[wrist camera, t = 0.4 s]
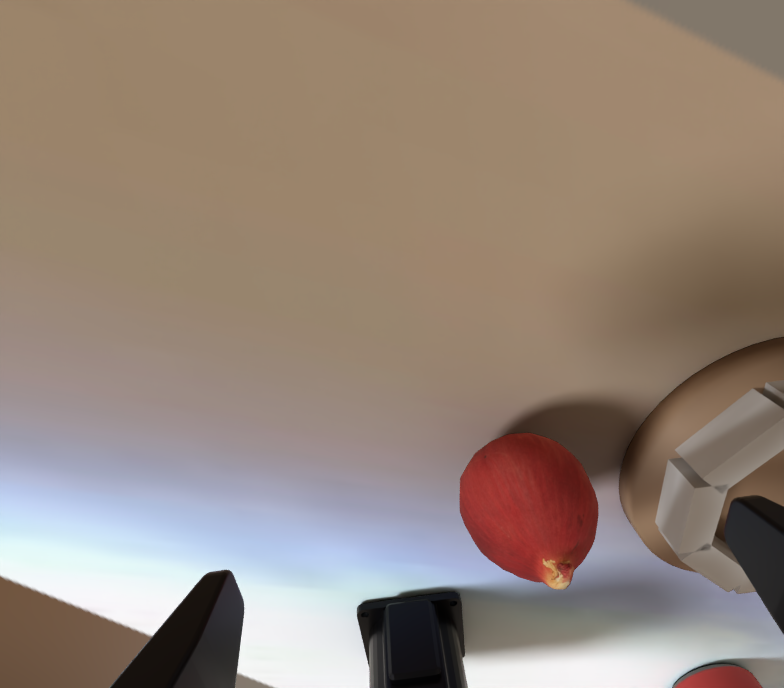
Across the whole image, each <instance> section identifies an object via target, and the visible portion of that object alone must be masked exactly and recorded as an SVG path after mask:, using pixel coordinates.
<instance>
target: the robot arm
mask: <svg viewBox="0 0 784 688" xmlns="http://www.w3.org/2000/svg"><path fill="white" fill-rule="evenodd" d="M724 537H725V540H726V543H727V545H728V547H729V548H730V550H731V551H732V553H733V555H734V556H735V558H736V560H737V561H738V563H739V564H740V566H741V568H742V569H743V571H744V572H745V574H746V576H747V577H748V579H749V580H750V582H751V584H752V585H753V587H754V588H755V590H756V592H757V593H758V595H759V596H760V598H761V600H762V601H763V603H764V604H765V606H766V608H767V609H768V611H769V612H770V614H771V616H772V617H773V619H774V620H775V622H776V623H777V625H778V626H779V628H780V629H781V631H782V632H783V634H784V506H782V505H780V504H778V503H776V502H773V501H771V500H769V499H767V498H765V497H762V496H759V495H750V496H743V497H737V498H734V499H733V500H732V501H731V503H730V506H729V510H728V514H727V518H726V522H725V526H724ZM243 618H244V601H243V598H242V595H241V593H240V590H239V588H238V585H237V583H236V580H235V578H234V575H233V573H232V572H231V571H230V570H221V571H214V572H209V573H207V574H206V575H204V576H203V577H202V578H201V580H200V581H199V582H198V583H197V584H196V585H195V587H194V588H193V589H192V590H191V591H190V593H189V594H188V595H187V596H186V597H185V599H184V600H183V601H182V602H181V603H180V604H179V606H178V607H177V608H176V609H175V610H174V612H173V613H172V614H171V615H170V616H169V618H168V619H167V620H166V621H165V622H164V623H163V625H162V626H161V627H160V628H159V629H158V631H157V632H156V633H155V634H154V635H153V636H152V638H151V639H150V640H149V641H148V642H147V644H146V645H145V646H144V647H143V648H142V650H141V651H140V652H139V653H138V654H137V656H136V657H135V658H134V659H133V660H132V661H131V663H130V664H129V665H128V666H127V668H126V669H125V670H124V671H123V672H122V673H121V675H120V676H119V677H118V678H117V679H116V680H115V682H114V683H113V684H112V685H111V686H110V687H109V688H235V683H236V675H237V667H238V659H239V651H240V642H241V634H242V626H243ZM357 618H358V622H359V626H360V631H361V635H362V639H363V643H364V648H365V652H366V656H367V660H368V664H369V671H370V688H468V686H467V681H466V675H465V670H464V665H463V659H462V658H463V657H464V656H465V648H464V634H463V619H462V604H461V598H460V595H459V594H458V593H456V592H449V593H442V594H434V595H426V596H418V597H411V598H403V599H395V600H387V601H380V602H372V603H364V604H361V605H359V606H358V607H357Z"/></svg>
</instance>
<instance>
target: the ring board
mask: <svg viewBox="0 0 784 688" xmlns="http://www.w3.org/2000/svg"><path fill="white" fill-rule="evenodd" d="M619 494H620V501H621V504H622V507H623V511H624V513H625V515H626V516H627V518H628V520H629V522H630V523H631V525H632V526H633V528H634V529H635V531H636V532H637V534H638V535H639V537H640V538H641V540H642V541H643V542H644V544H645V545H646V546H647V547H648V548H649V550H650V551H651V552H652V553H654V554H655V555H656V556H657V557H659V558H660V559H661V560H663V561H665V562H667V563H669V564H671V565H673V566H676V567H678V568H681V569H684V570H688V571H693V572H697V573H700V574H701V575H703V576H704V577H706V578H707V579H709V580H710V581H712V582H713V583H715V584H716V585H718V586H719V587H721V588H722V589H724V590H725V591H727V592H730V591H732V590H733V589H734V590H735V591H736V593H737V594H741V593H749V592H756V590H755V588H754V587H753V585H752V584H751V582H750V580H749V579H748V577H747V576H746V574H745V572H744V571H743V569H742V568H741V566H740V564H739V563H738V561H737V560H736V558H735V556H734V555H733V553H732V551H731V550H730V548H729V547H728V545H727V543H726V540H725V537H724V526H725V522H726V518H727V514H728V510H729V506H730V503H731V501H732V500H733V499H734V498H737V497H743V496H750V495H759V496H762V497H765V498H767V499H769V500H771V501H773V502H776V503H778V504H780V505H782V506H784V337H782V338H776V339H772V340H768V341H765V342H761V343H758V344H754V345H751V346H749V347H746V348H744V349H741V350H739V351H736V352H734V353H731V354H729V355H727V356H725V357H723V358H722V359H720V360H718V361H716V362H714V363H712V364H710V365H708V366H707V367H705V368H704V369H702V370H701V371H699V372H697V373H696V374H694V375H693V376H691V377H690V378H689V379H687V380H686V381H685V382H683V383H682V384H681V385H679V386H678V387H677V388H676V389H674V390H673V391H672V392H671V393H670V394H669V395H668V396H667V397H666V398H665V399H664V400H663V401H661V402H660V404H659V405H658V406H657V407H656V408H655V409H654V410H653V411H652V413H651V414H650V415H649V416H648V417H647V418H646V420H645V421H644V423H643V424H642V425H641V427H640V428H639V430H638V431H637V432H636V434H635V436H634V438H633V440H632V442H631V443H630V445H629V447H628V450H627V452H626V455H625V457H624V460H623V463H622V467H621V472H620V478H619Z"/></svg>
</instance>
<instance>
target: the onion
mask: <svg viewBox="0 0 784 688" xmlns="http://www.w3.org/2000/svg"><path fill="white" fill-rule="evenodd" d="M460 513H461V516H462V519H463V521H464V524H465V526H466V528H467V530H468V531H469V533H470V535H471V537H472V539H473V540H474V542H475V544H476V545H477V547H478V548H479V550H480V551H481V552H482V553H483V554H484V555H485V556H486V557H487V558H488V559H489V560H491V561H492V562H494V563H495V564H496V565H498V566H499V567H501V568H502V569H503V570H505V571H508V572H510V573H513V574H514V575H516V576H518V577H520V578H524V579H527V580H530V581H534V582H543V583H545V584H546V585H548V586H549V587H551V588H553V589H566V588H567V587H568V586H569V585H570V582H571V580H572V576H573V572H574V570H575V569H576V568H577V567H578V566H579V565H580V564H581V563H582V562H583V560H584V559H585V557H586V556H587V554H588V552H589V551H590V549H591V547H592V545H593V542H594V540H595V534H596V528H597V521H598V502H597V498H596V494H595V491H594V489H593V487H592V485H591V483H590V480H589V478H588V476H587V474H586V472H585V470H584V468H583V466H582V464H581V463H580V462H579V461H578V460H577V459H576V458H575V457H574V456H573V455H572V454H571V453H570V452H569V451H568V450H567V449H565V448H564V447H563V446H562V445H560V444H559V443H558V442H556V441H554V440H551V439H549V438H546V437H543V436H539V435H535V434H532V433H518V434H508V435H505V436H503V437H500V438H498V439H495V440H493V441H491V442H490V443H488V444H487V445H486V446H484V447H483V448H482V449H480V450H479V451H478V452H476V453H475V455H474V456H473V458H472V459H471V461H470V462H469V464H468V465H467V467H466V469H465V470H464V472H463V474H462V476H461V478H460Z"/></svg>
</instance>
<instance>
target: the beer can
mask: <svg viewBox="0 0 784 688" xmlns="http://www.w3.org/2000/svg"><path fill="white" fill-rule="evenodd" d="M672 688H762V686H761V685H760V683H759V682H758V681H757V679H756V678H755V677H754V675H753V674H752V673H751V672H749V671H748V670H746V669H744V668H741V667H739V666H737V665H732V664H714V665H709V666H705V667H701V668H698V669H696V670H694V671H691V672H689V673H688V674H686V675H685V676H683V677H682V678H680V679H679V680H678V681H677V682H676V683H675V684H674V685H673V687H672Z"/></svg>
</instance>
